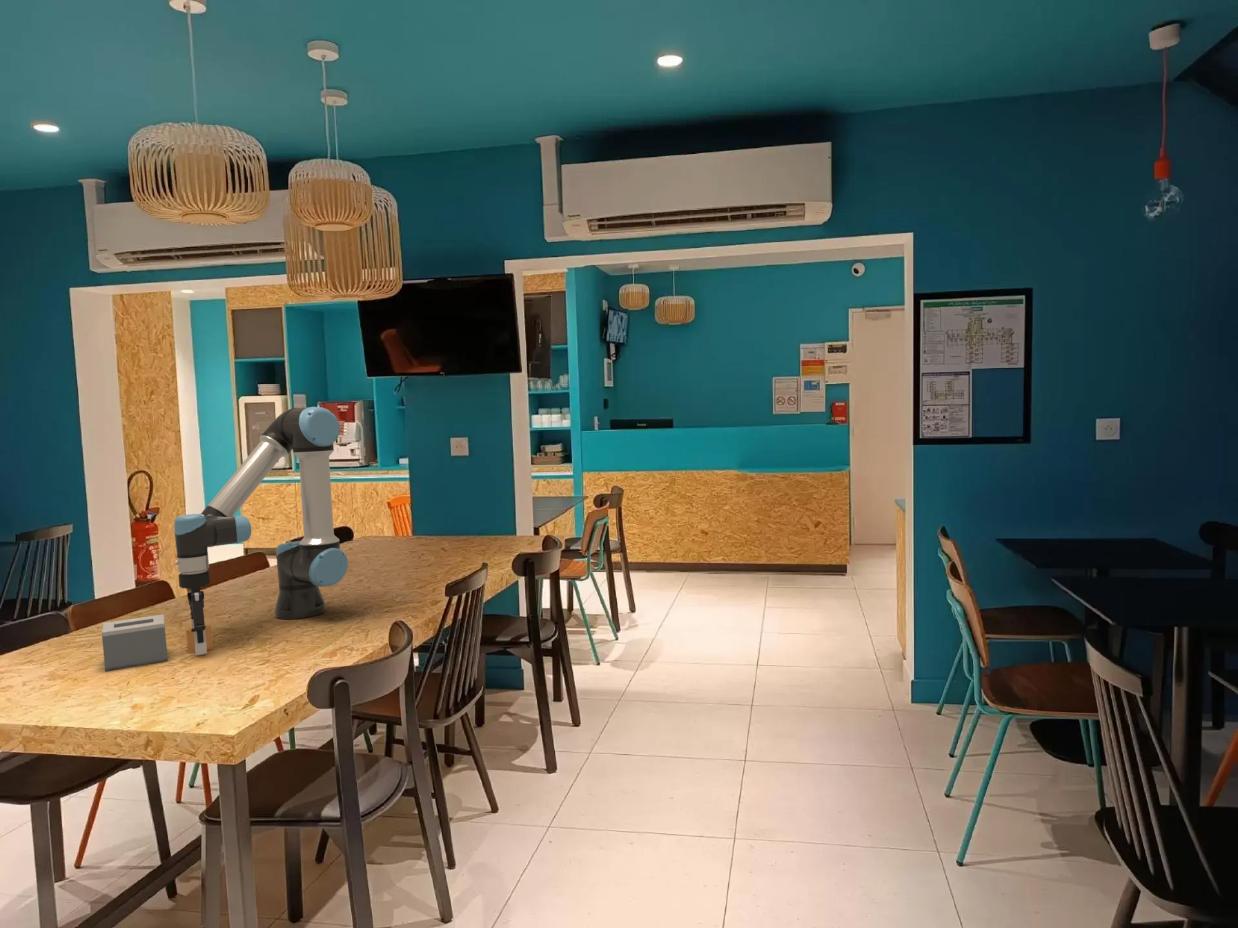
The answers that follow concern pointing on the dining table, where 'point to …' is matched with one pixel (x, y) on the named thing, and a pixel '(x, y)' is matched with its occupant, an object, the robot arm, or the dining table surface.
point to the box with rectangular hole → (134, 642)
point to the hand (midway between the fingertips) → (199, 648)
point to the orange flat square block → (192, 642)
